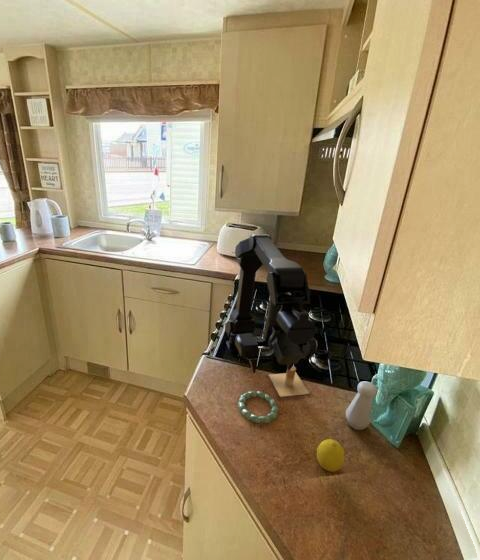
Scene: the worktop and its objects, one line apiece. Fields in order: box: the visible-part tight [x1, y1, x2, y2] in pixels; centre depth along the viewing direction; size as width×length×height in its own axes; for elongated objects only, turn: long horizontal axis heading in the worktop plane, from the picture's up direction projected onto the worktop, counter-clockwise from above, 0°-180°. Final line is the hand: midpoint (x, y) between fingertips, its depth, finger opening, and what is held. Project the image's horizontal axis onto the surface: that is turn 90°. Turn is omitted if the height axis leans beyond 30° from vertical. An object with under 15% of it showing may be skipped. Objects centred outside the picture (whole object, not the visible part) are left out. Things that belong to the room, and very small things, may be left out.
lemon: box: [316, 438, 346, 473], centre depth 69 cm, size 6×6×8 cm
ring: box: [237, 390, 279, 424], centre depth 85 cm, size 11×11×2 cm
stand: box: [268, 365, 311, 398], centre depth 92 cm, size 9×9×7 cm
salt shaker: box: [345, 380, 378, 431], centre depth 79 cm, size 6×6×13 cm
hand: (271, 370), depth 78 cm, fingers open, 9 cm apart
